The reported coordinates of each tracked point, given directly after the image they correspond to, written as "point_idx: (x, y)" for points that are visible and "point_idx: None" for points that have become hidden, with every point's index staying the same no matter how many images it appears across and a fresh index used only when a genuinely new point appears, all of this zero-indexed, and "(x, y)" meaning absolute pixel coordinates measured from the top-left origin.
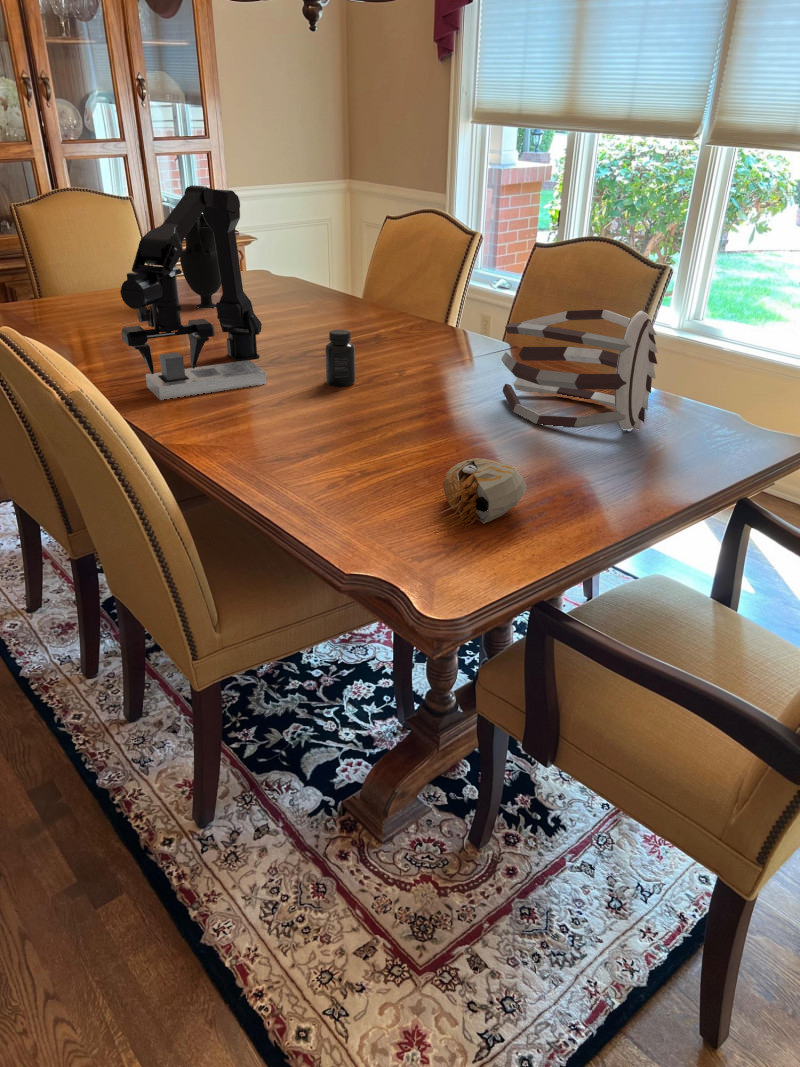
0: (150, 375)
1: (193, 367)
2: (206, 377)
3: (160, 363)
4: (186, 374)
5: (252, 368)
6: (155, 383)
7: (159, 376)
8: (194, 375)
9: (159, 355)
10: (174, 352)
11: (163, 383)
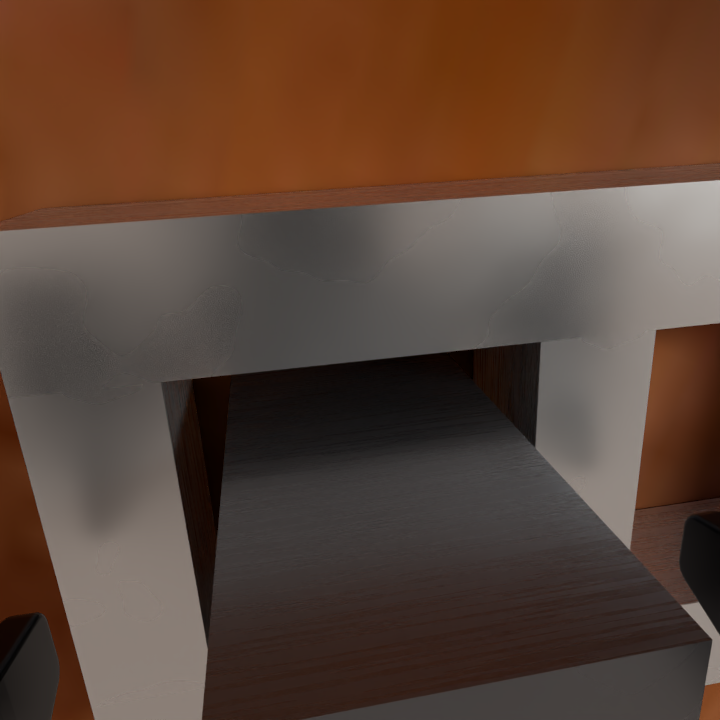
0: (51, 332)
1: (693, 589)
2: (702, 617)
3: (215, 567)
4: (557, 456)
5: None
6: (90, 683)
7: (196, 372)
8: (625, 518)
9: (203, 712)
10: (640, 657)
11: (191, 704)
